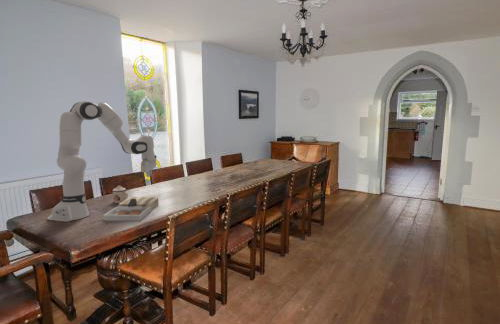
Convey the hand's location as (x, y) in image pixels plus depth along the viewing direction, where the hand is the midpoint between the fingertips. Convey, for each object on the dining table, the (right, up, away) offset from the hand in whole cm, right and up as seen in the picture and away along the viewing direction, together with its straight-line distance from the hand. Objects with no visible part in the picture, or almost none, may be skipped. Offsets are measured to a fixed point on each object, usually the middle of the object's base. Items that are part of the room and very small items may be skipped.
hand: (149, 176), depth 215 cm
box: (-2, -23, -33) cm, 41 cm away
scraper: (-1, -20, -33) cm, 39 cm away
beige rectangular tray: (-1, -21, -16) cm, 26 cm away
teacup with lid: (-19, -19, -2) cm, 27 cm away
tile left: (-6, -20, -31) cm, 37 cm away
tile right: (+3, -21, -33) cm, 39 cm away
